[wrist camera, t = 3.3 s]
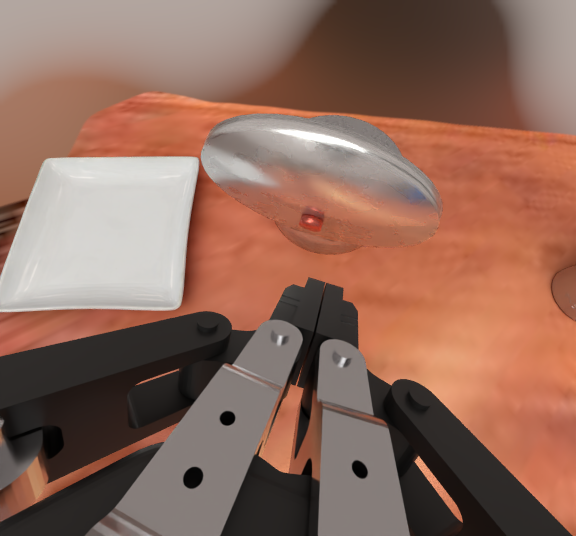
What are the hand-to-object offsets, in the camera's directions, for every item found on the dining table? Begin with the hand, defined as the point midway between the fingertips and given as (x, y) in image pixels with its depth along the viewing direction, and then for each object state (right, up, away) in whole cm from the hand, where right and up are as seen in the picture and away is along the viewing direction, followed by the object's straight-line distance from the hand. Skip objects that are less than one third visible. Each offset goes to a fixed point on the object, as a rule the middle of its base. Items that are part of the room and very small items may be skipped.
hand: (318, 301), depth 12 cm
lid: (+1, +8, +14) cm, 16 cm away
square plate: (-30, +7, +35) cm, 47 cm away
